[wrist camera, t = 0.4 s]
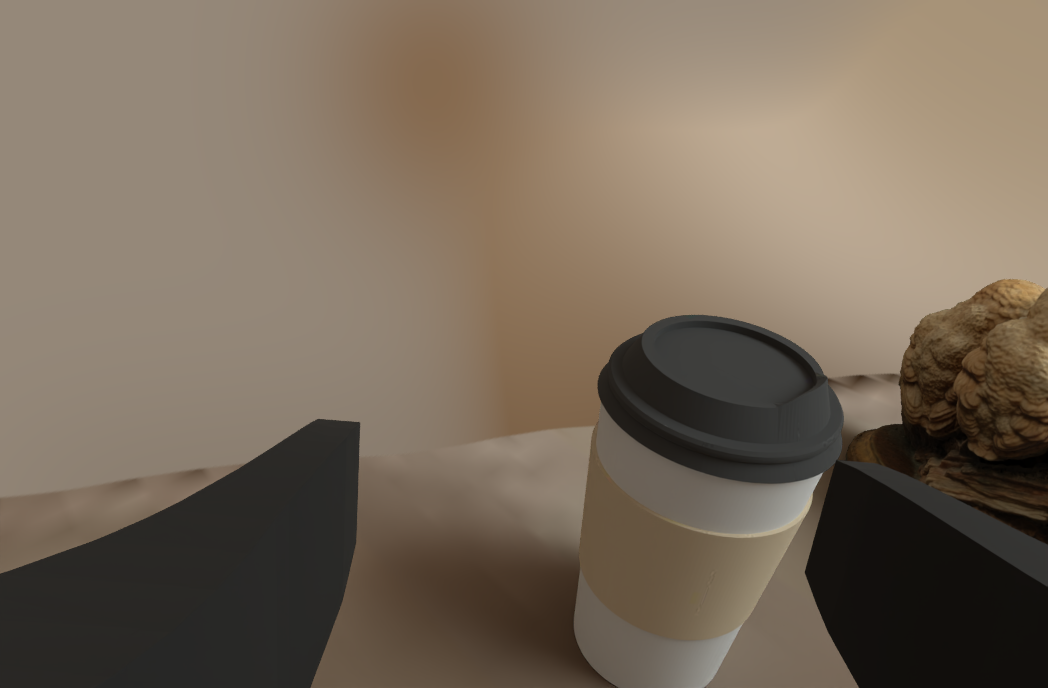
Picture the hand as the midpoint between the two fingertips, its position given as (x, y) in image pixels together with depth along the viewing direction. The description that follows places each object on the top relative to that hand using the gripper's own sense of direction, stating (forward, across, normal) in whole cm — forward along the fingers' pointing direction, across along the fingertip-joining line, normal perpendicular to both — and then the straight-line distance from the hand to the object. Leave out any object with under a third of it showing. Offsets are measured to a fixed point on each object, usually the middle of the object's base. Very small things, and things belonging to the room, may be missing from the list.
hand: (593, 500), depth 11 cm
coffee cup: (+17, -7, +17) cm, 25 cm away
